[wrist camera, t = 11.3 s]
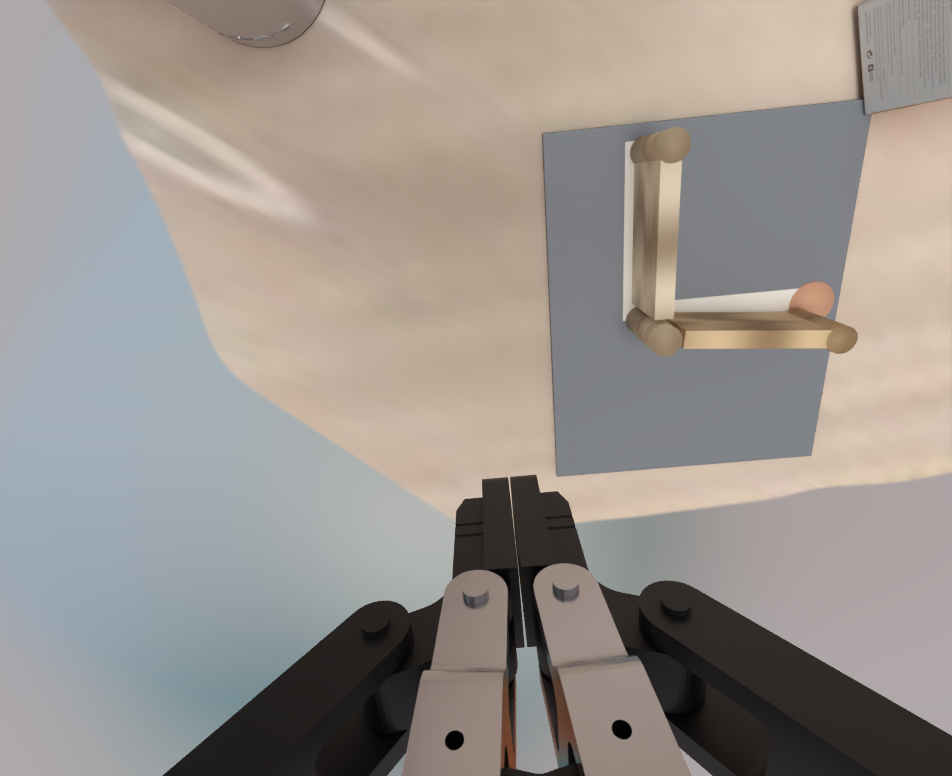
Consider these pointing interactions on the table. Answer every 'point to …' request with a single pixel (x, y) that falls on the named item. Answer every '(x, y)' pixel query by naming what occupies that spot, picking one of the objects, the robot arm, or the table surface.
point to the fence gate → (762, 330)
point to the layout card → (698, 285)
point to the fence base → (656, 237)
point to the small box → (905, 52)
